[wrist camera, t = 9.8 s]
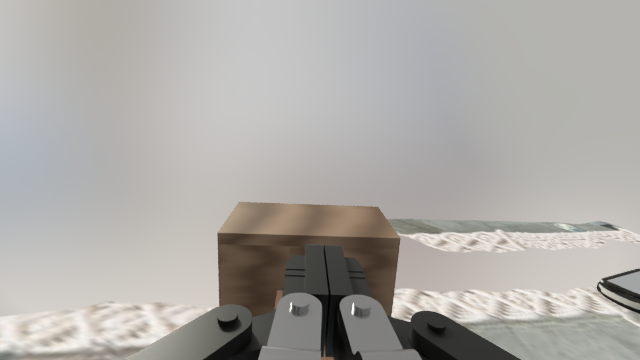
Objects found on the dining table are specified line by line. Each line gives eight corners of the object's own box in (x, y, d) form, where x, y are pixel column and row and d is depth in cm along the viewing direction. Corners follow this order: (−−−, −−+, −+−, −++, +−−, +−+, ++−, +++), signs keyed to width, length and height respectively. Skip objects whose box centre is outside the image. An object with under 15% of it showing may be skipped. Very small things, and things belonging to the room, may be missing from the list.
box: (221, 370, 34) (217, 232, 30) (239, 311, 44) (239, 202, 40) (384, 371, 35) (400, 238, 31) (367, 313, 45) (377, 206, 41)
